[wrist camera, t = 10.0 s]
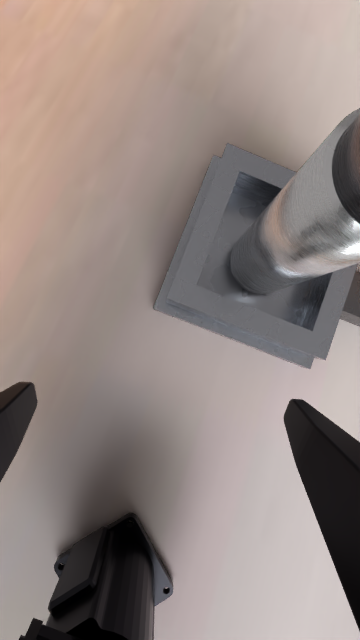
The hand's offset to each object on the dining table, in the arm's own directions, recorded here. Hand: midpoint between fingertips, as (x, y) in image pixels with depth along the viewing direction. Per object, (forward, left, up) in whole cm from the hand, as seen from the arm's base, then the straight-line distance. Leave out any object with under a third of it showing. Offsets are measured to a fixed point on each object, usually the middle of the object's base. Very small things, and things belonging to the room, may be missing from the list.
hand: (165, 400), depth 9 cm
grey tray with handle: (-3, -16, -11) cm, 19 cm away
